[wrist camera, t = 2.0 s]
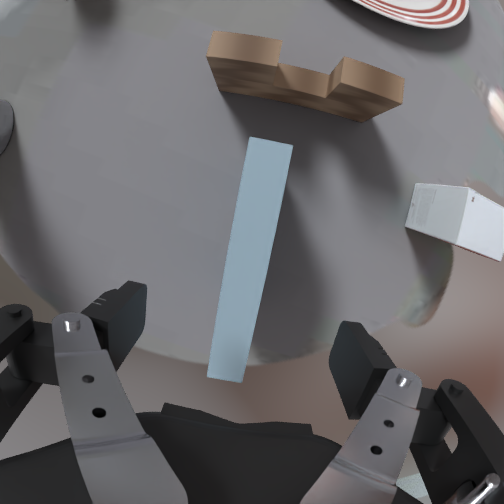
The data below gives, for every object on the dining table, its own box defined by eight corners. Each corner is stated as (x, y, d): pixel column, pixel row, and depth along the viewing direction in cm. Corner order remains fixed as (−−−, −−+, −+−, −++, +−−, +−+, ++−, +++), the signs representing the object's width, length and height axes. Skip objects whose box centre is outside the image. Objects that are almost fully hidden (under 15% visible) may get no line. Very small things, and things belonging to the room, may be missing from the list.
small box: (403, 226, 32) (454, 245, 22) (414, 181, 31) (468, 186, 21) (449, 242, 33) (501, 264, 23) (460, 201, 32) (514, 212, 21)
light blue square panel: (224, 297, 34) (206, 376, 20) (250, 156, 31) (249, 136, 16) (245, 301, 34) (241, 382, 20) (273, 161, 31) (293, 145, 16)
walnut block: (219, 90, 29) (206, 56, 19) (223, 70, 28) (213, 30, 19) (361, 122, 30) (402, 103, 20) (364, 102, 29) (404, 78, 19)
